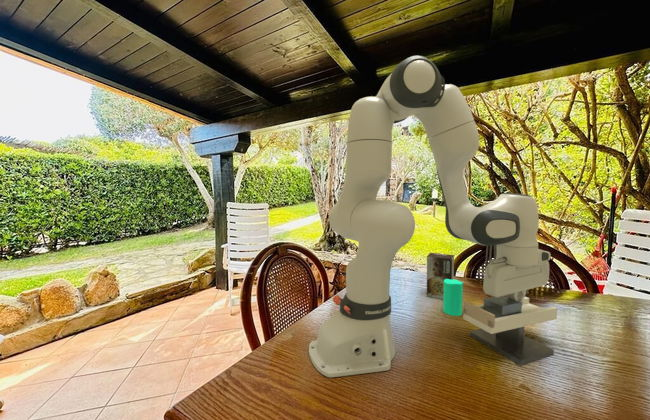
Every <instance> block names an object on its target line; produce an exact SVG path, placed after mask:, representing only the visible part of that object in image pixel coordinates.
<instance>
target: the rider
mask: <svg viewBox="0 0 650 420" xmlns="http://www.w3.org/2000/svg"><path fill="white" fill-rule="evenodd" d="M483 304H484V308H483V310H485V311H487V312H490V313H492V314H494V315H495V318H499V317H504V316H509V315H514V314H519V313H521V310H522V302H519V301H517V300H514V299H511V298H509V297H508V296H507V295H505V296H501V297H493V296H491V297H485V298H483Z"/></svg>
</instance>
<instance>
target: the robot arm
mask: <svg viewBox="0 0 650 420" xmlns="http://www.w3.org/2000/svg"><path fill="white" fill-rule="evenodd" d="M411 116H414V117H415V118H417V120H418V121H419V122H420V123H421V124H422V126H423V127H424V130H425V134H426V135H425V136H426V137H427V140H428V143H429V148H430V149H431V152H432V155H433V159H434V163H435V167H436V173H437V178H438V182H439V187H440V190H441V193H442V197H443V201H444V206H445V217H444V218H445V219H444V220H445V221H444V223H445V228H446V230H447V232H448V233H449V234H450V235H451V236H452V237H454V238H456V239H459V240H463V241H464V240H465V241H468V242H471V243H475V244H477V245H480V246H486V247H487V246H488V247H490V246H492V247H494V245H496V259H494V258H493V259H491V261H490V263H489V262H488V263H487V267H486V269H485V268H484V273H483V283H482V284H483V285H482V290H483V292H484V293H485V294H486V295H488V296H491V297H501V296H506V297H509V298H511V299H514V300H517V301H519V302H522V305H523V299H524V297H526V294H527V291H526V290H528V289H529V290H530V289H534V288H539V287H543V286H546V285H547V284H548V282H549V277H550V262H549V261H550V260H551V258H552V257H551V252H550V251H547V250H543V249H540V248H539V242H538V239H537V234H538V231H539V228H540V227H539V226H540V225H539V223H540V222H539V221H540V220H539V219H540V218H539V208H538V204H537V201H536V198H535V197H534V196H531V195H529V194H525V193H524V194H523V193H514V192H506V193H505V192H503V193H501V194H499V196H498V197H497V198H495V199H494V200H492V201H491V202H489V203H487V204H485V205H482V206H475V205H473V204H472V202H471V201H470V200H469V196H468V192H467V187H466V184H465V179H464V171H465V168H466V166H467V165H468V164H469V162H470V161H471V160H472V159H473V158H474V157H475V156H476V153H477V152H478V151H479V148H480V134H479V130H478V127H477V123H476V121H475V118H474V116H473V113H472V110H471V109H470V106H469V104H468V102H467V100H466V98H465V97H464V94H463V93H462V91H461V89H459V87H458V86H456V85H454V84H452V83H449V84H447V83H446V81H445V78H444V76H443V75H442V74H441V73H440V71H439V69H438V67H437V65H436V64H435V63H434V62H433V61H432V60H430V59H429V58H427V57H426V56H423V55H412V56H410V57H407V58H406V59H404V60H402V61H400V63H398V64H397V65H396V67H394V69H393V70H392V72H391V73H390V74H389V75H388V76H387V77H386V79H385V80H384V82H383V83H382V85H381V87H380V89H379V90H378V92H377V93H376V95H375V96H365V97H362V98H359V99H358V100H356V101H355V102H354V103H353V105H352V107H351V109H350V113H349V118H348V123H347V124H348V126H347V133H346V136H347V137H346V164H345V177H344V182H343V186H342V188H341V191H340V195H339V198H338V200H337V201H336V203H335V204H333V206H332V208H331V209H330V211H329V214H328V216H329V217H328V220H329V222H328V223H329V226H330V228H331V229H332V231H333V232H335V233H337V234H338V235H339V236H341V237H343V238H345V239H348V240H351V241H354V242H355V241H356V242H358V247H357V252H356V255H355V257H354V258H353V259H351V260H350V261H348V263H347V264H346V268H345V286H346V287H345V291H346V292H345V293H344V296H343V298H342V297H340V295H336V294H335V295H334V296H333V298H332V300H333V302H334V304H335V305H337V306H339V309H338V310H337V311H336V312H335V313H333V314H332V316H330V317H329V318H327V319H326V320H325V321H324V322H323V323H322V324H321V325H320V327H319V328H318V332H317V338H316V339H315V340H312V341H310V343H309V345H308V356H309V359H310V361H311V363H312V365H313V367H315V369H316V371H318V372H319V373H320V374H321V375H323V376H325V377H326V378H335V377H336V378H337V377H345V376H354V375H360V374H361V375H362V374H368V373H369V374H370V373H371V374H372V373H378V372H385V371H389V370H390V369H391V367H392V361H393V360H394V358H395V356H396V353H397V352H396V351H397V350H396V346H395V343H394V338H393V333H392V327H391V326H392V325H391V313H392V297H391V295H390V286H391V285H390V284H391V283H390V282H391V269H392V264H393V261H394V259H395V257H396V255H397V253H398V252H399V250H400V249H401V248H403V247H405V245H407V244H408V243H409V242H410V241H411V239H412V238H413V236H414V234H415V229H416V221H415V216H414V213H413V212H412V211H411V209H410V208H409V207H408V206H407V205H404V204H401V203H397V202H395V201H392V200H385V199H384V200H382V199H381V200H379V199H377V197H378V194H379V190H380V189H381V187H382V185H383V184H384V183H386V182H387V180H389V179H390V176H391V174H392V159H393V158H392V152H393V151H392V150H393V149H392V148H393V133H392V132H393V128H394V124H398V123H402V122H403V121H405V120H406V119H408V118H409V117H411ZM529 290H528V291H529Z"/></svg>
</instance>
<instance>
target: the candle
mask: <svg viewBox="0 0 650 420" xmlns="http://www.w3.org/2000/svg"><path fill="white" fill-rule="evenodd" d="M463 290H464V281H460V280H458V279H456V278H455V276H454V277H453V279H445V280H444V290H443V299H442V301H443V303H442V311H443V312H444V314H446V315H449V316H453V317H460V316H463V303H464V301H463V300H464V299H463V295H464V294H463V293H464V291H463Z"/></svg>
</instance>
